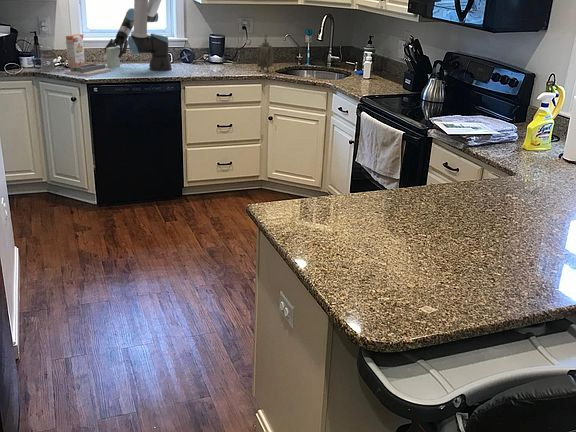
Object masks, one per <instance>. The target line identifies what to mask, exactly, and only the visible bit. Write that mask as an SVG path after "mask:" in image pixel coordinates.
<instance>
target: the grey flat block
mask: <svg viewBox="0 0 576 432" xmlns="http://www.w3.org/2000/svg"><path fill="white" fill-rule="evenodd" d="M108 72H112V68H108V67H107V66H106V63H102V64H99V63H98V64H97V63H96V62H92V63H87V64H86V63H85V65H81V66H76V67H71V68H69V70H64V74H70V75H77V76H85V77H90V76H91V77H92V76H95V75H99V74H104V73H108Z"/></svg>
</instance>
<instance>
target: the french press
mask: <svg viewBox="0 0 576 432" xmlns="http://www.w3.org/2000/svg"><path fill="white" fill-rule="evenodd" d="M42 33H43V34H44V36H46V35H45V34H46V33H47V31H46V30H43V31H42ZM44 42H45V45H44V46H41V47H40V48H39V51H45V52H46V53H45V54H41V55H40V64H41V65H40V66H41V68H40V70H41V71H40V72H44V71H51V72H55V70H56V68H55V63H56V62H57V61H58V59H59V56H58V53H57V52H56V51H54V50H53V48H52V47H51V46H47V45H46V43H47V42H46V40H44ZM47 51H51V52H52V54H48V53H47ZM53 53H55V54H56V60H55V61H54V57H53Z"/></svg>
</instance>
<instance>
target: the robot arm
mask: <svg viewBox="0 0 576 432" xmlns="http://www.w3.org/2000/svg"><path fill="white" fill-rule="evenodd" d="M161 2H162V0H134V2H133V3H134V5H133V7H134V8H133V7H131V8H129V9H128V10H127V11H126V12H125V16H124V18H123V20H122V22H121V25H120V26H119V29H118V31H117V33H116V35H115V38H114V39H113V38H110V40H109V42H108V44H106V46H105V47H104V48H103V51H105V52H104V55H103V60H104V62H107V54H106V48H109V47H119V52H118V55H117V57H116V59H115V60H116V62H118V61H119V59H121V58H122V56H123V54H124V55H126V53H127V49H128V48H129V51H130V52H131V53H132V54H134V55H146V54H148V55H149V54H150V55H151V58H150V62H149V65H148V66H149V69H150V70H152V71H170V70H172V67H173V66H172V63H171V61H170V56H169V55H170V54H169V37H168V35H166V34H165V35H164V34H160V33H152V32H151V33H149V32H148V23H156V22H158V21H159V13H158V9H159V7H160V4H161ZM132 29H133V30H132ZM128 46H129V47H128Z"/></svg>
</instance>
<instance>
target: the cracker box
mask: <svg viewBox="0 0 576 432" xmlns="http://www.w3.org/2000/svg"><path fill="white" fill-rule="evenodd" d="M65 45H66V55H67V56H66V57H67V67H68V68H69V69H70V68H71V67H76V66H81V65H86V63H85V61H86V60H85V48H84V47H85V46H84V45H85V44H84V34H81V33H79V34H78V33H75V34H70V35H65Z"/></svg>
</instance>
